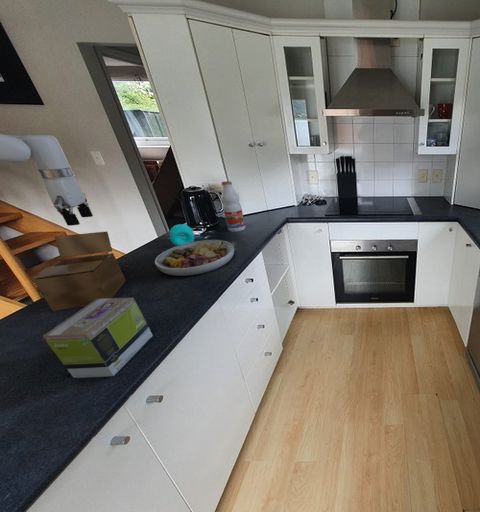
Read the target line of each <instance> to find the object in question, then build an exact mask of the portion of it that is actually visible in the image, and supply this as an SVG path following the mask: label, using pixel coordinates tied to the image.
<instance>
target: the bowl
mask: <svg viewBox="0 0 480 512" xmlns="http://www.w3.org/2000/svg"><path fill="white" fill-rule="evenodd" d="M234 254H235V247H234V245H233V243H231V242H230V241H226V240H220V239H205V240H196V241H194V242H191V243H186V244H182V245H179V246H176V245H175V246H174V247H171V248H169V249H167V250H165V251H162V252H161V253H159V255H157V256H156V258H155V260H154V264H155V266H156V268H157V269H158V270H159V271H160V272H162V273H164V274H166V275H169V276H177V277H187V276H197V275H201V274H205V273H208V272H212V271H215V270H217V269H219V268H221V267H223V266H224V265H226V264H227V263H228V262H230V261H231V260H232V258H233V257H234Z"/></svg>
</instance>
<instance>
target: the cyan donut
mask: <svg viewBox="0 0 480 512" xmlns="http://www.w3.org/2000/svg"><path fill="white" fill-rule="evenodd" d="M195 237H196V236H195V234H194V231H193V229H192V228H191V227H190V226H189V225H187V224H184V223H179V224H175V225H173V226H172V227H171V228H170V230H169V240H170V242H171V243H172V244H173V245H174V246H175V247H176V246H179V245H182V244H186V243H191V242H195V240H196V239H195Z"/></svg>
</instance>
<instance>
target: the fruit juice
mask: <svg viewBox="0 0 480 512" xmlns="http://www.w3.org/2000/svg"><path fill="white" fill-rule="evenodd" d="M232 184H233V183H232V181H230V180H227V181H222V182H221V186H222V192H221V195H220V200H221V202H222V210H223V214H224V218H225V222H226V227H227V230H228V231H229V232H232V233H237V232H242V231H244V230H245V229H246V223H245V219H244V212H243V208H242V205H241V203H240V196H239V194H238V193H237V192H236V191H235V189H234V188H233V186H232Z"/></svg>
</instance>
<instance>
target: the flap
mask: <svg viewBox="0 0 480 512" xmlns="http://www.w3.org/2000/svg"><path fill="white" fill-rule="evenodd" d="M54 240H55V243H56V247H57V250H58V254H59V258H61V259H62V258H68V257H69V258H70V257H76V256H77V257H79V256H87V255H96V254H104V253H113V248H112V245H111V240H110V237H109V232H108V231H97V232H85V233H76V234H66V235H56V236H54Z"/></svg>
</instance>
